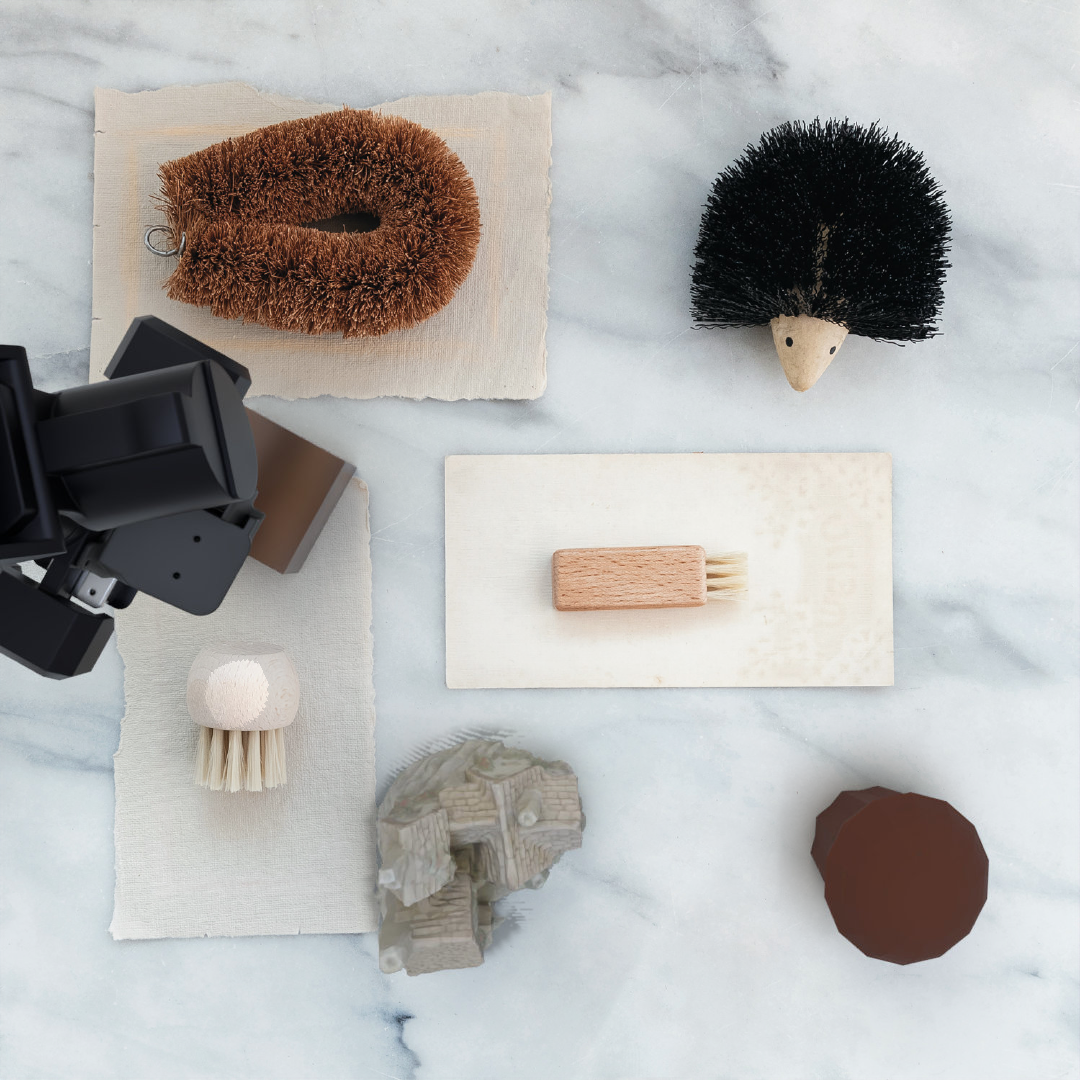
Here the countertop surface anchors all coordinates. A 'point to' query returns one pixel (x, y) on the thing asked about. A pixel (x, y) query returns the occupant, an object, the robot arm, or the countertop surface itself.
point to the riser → (292, 493)
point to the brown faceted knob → (900, 873)
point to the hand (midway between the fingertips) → (180, 505)
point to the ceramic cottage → (466, 849)
